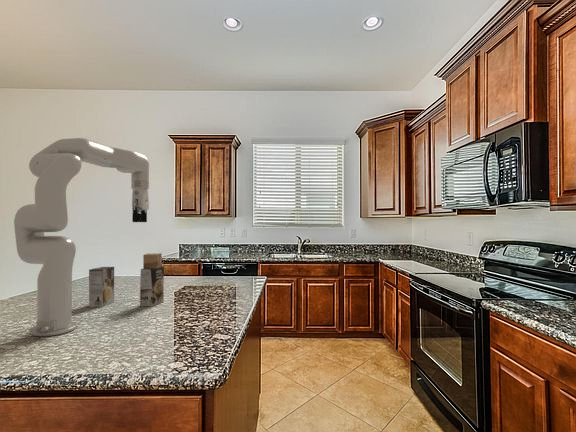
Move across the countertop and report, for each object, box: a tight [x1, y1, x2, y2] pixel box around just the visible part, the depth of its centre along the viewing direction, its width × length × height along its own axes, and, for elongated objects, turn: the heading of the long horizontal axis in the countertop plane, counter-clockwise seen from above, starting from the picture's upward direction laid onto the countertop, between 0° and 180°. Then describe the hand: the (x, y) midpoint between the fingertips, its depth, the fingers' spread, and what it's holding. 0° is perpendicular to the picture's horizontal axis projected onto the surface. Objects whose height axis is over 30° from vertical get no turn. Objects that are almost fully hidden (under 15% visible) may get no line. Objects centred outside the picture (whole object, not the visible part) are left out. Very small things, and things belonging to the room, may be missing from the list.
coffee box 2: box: [139, 266, 165, 308], centre depth 148 cm, size 9×6×16 cm
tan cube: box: [142, 252, 162, 269], centre depth 148 cm, size 6×6×6 cm
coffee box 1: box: [88, 266, 115, 308], centre depth 148 cm, size 9×6×16 cm
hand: (139, 222), depth 156 cm, fingers open, 9 cm apart
